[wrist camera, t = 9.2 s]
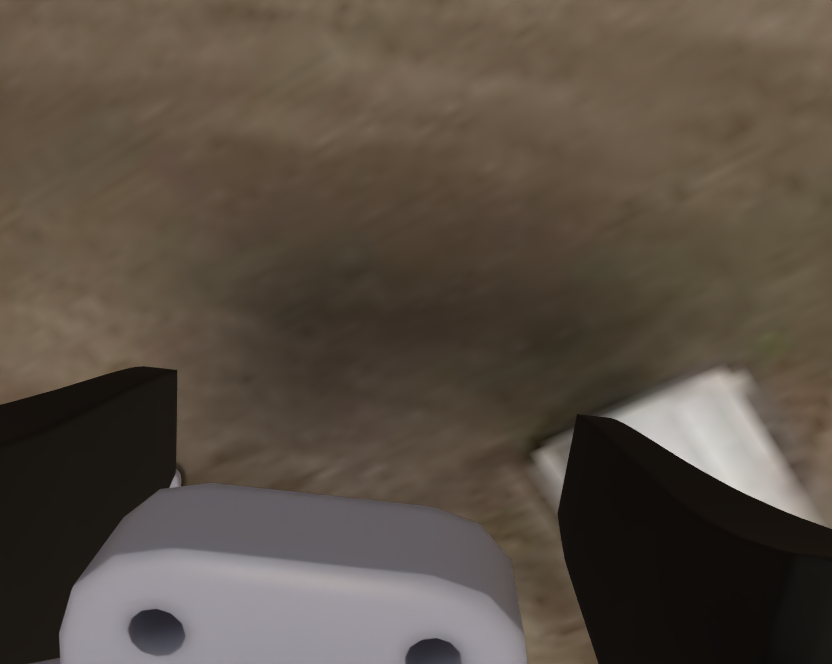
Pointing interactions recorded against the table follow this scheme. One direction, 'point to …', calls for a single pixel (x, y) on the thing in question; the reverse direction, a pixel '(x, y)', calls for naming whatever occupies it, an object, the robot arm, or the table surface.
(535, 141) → the table surface
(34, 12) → the table surface
